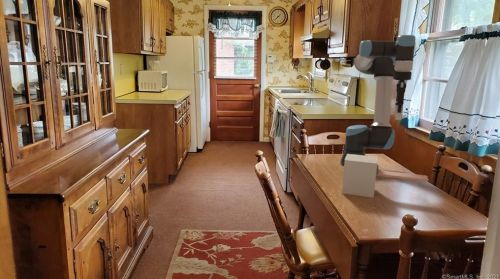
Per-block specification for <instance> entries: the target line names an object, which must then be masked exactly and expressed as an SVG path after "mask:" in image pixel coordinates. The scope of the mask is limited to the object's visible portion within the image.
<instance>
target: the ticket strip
mask: <svg viewBox="0 0 500 279" xmlns="http://www.w3.org/2000/svg"><path fill="white" fill-rule="evenodd" d="M376 177H385V178H392V179H402V180H410V181H418V182H427V183H428V182H429V176H427V175H424V174H416V173H415V174H414V173H406V172H399V171H398V172H397V171H388V170H382V169H381V170H379V169H378V174H376Z"/></svg>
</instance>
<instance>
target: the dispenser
mask: <svg viewBox="0 0 500 279" xmlns="http://www.w3.org/2000/svg"><path fill="white" fill-rule="evenodd" d="M378 159H379V158H378V156H372V155H366V156H363V155H354V154H347V155H346V158H345V161H344V166H343V174H342V175H343V177H342V190H341V193H342V194H345V195H351V196H359V197H364V198H365V197H367V198H374V197H375V189H376V188H375V187H376V179H377V176H376V174H378V170H379V164H378Z"/></svg>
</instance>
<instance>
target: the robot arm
mask: <svg viewBox="0 0 500 279" xmlns="http://www.w3.org/2000/svg"><path fill="white" fill-rule="evenodd" d="M396 38H397V39H396V40H370V39H369V40H368V39H367V40H362V41H360V43H359V51H358V52H359V54H358V55H357V56H356V57H355V58H354V61H353V65H354V68H355V69H356V70H357V71H358V72H360V74H364V75H370V76H371V75H372V76H373V79H374V80H375V82H376V83H375V84H376V85H375V100H374V112H373V113H374V115H373V123H372V124H371V125H370V128H369V127H368V125H364V124H355V125H350V126H348V127H347V128H346V130H345V134H344V135H345V141H344V151H343V154H342V156H341V158H340V165H341V166H343V167H344V161H345V158H346V155H347V154H354V155H363V156H367V155H366V149H376V150H390V149H391V148H392V146H393V144H394V143H395V142H394V141H395V136H396V133H395V129H394V128H393V126H392V125H391V123H390V119H391V104H392V103H391V102H392V90H393V81H394V80H395V81H396V80H397V83H396V84H395V85H396V98H395V104H394V105H395V107H394V115H393V116H394V120H396V121H402V119H403V110H404V105H405V101H404V100H405V92H406V88H407V84H406V82H405V81H410V80H412V74H413V72H412V70H413V67H414V54H415V46H416V36H415V35H412V34H403V35H402V34H401V35H398V36H397V37H396Z"/></svg>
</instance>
